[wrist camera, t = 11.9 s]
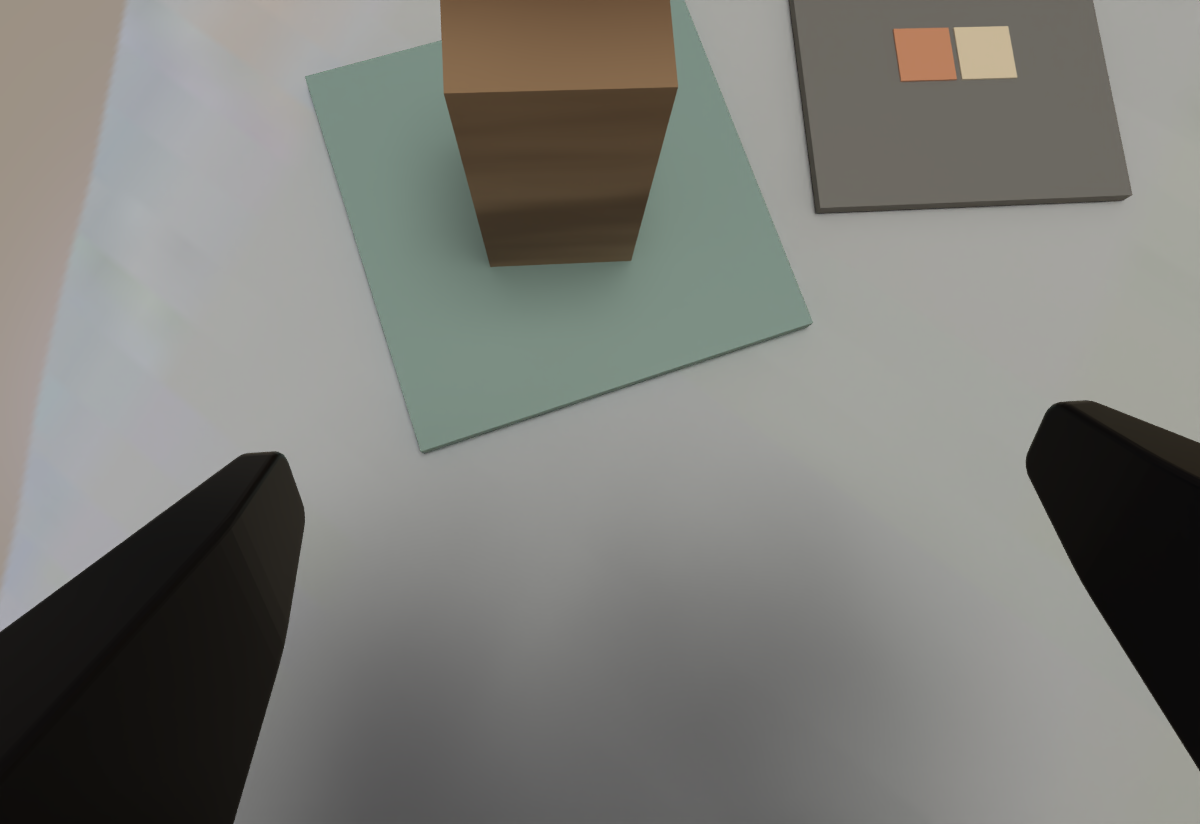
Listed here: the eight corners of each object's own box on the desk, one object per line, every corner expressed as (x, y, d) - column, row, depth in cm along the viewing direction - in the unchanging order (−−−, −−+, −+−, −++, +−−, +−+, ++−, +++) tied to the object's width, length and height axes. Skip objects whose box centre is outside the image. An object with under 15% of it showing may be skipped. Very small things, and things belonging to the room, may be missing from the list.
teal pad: (807, 326, 23) (812, 322, 22) (423, 453, 21) (420, 451, 21) (673, -11, 25) (675, -22, 24) (310, 86, 23) (304, 76, 23)
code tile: (1123, 200, 24) (1134, 194, 24) (815, 213, 24) (821, 207, 23) (1067, -76, 26) (1076, -87, 26) (780, -72, 25) (783, -83, 25)
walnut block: (631, 260, 22) (678, 87, 13) (490, 266, 22) (443, 93, 13) (621, 131, 23) (659, -115, 14) (484, 135, 23) (435, -113, 14)
